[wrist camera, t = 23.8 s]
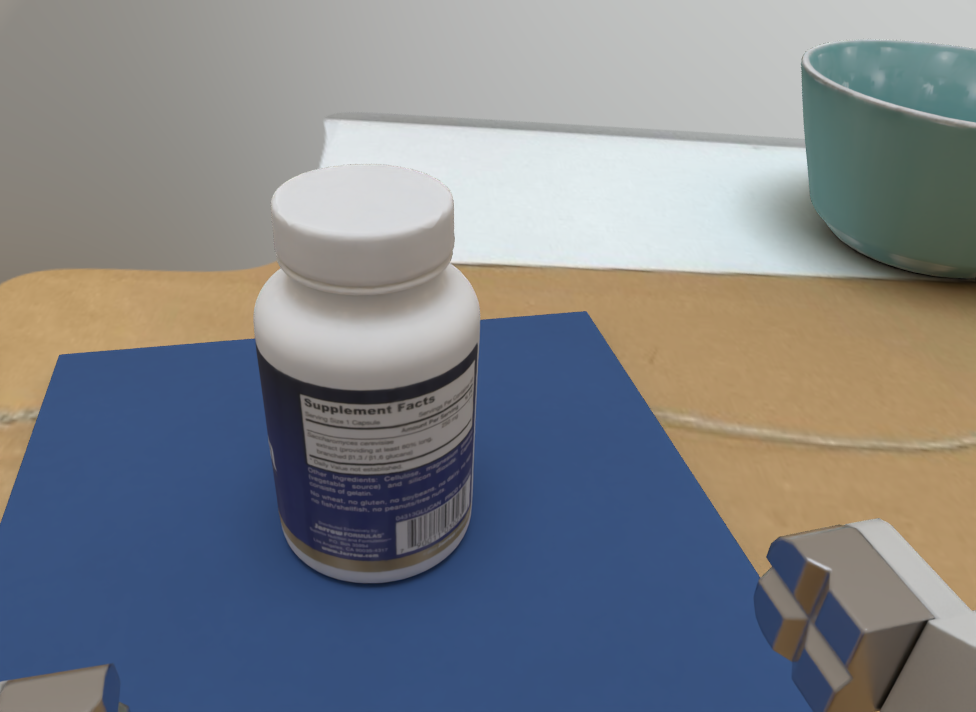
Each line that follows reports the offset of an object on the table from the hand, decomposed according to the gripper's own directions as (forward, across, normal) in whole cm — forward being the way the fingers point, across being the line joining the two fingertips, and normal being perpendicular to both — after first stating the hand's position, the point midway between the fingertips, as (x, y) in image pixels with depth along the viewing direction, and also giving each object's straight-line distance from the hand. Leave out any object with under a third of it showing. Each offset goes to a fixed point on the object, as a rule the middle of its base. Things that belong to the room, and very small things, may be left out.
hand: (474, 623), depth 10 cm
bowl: (+25, +31, -9) cm, 40 cm away
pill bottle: (+11, 0, -9) cm, 14 cm away
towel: (+11, 0, -9) cm, 14 cm away
